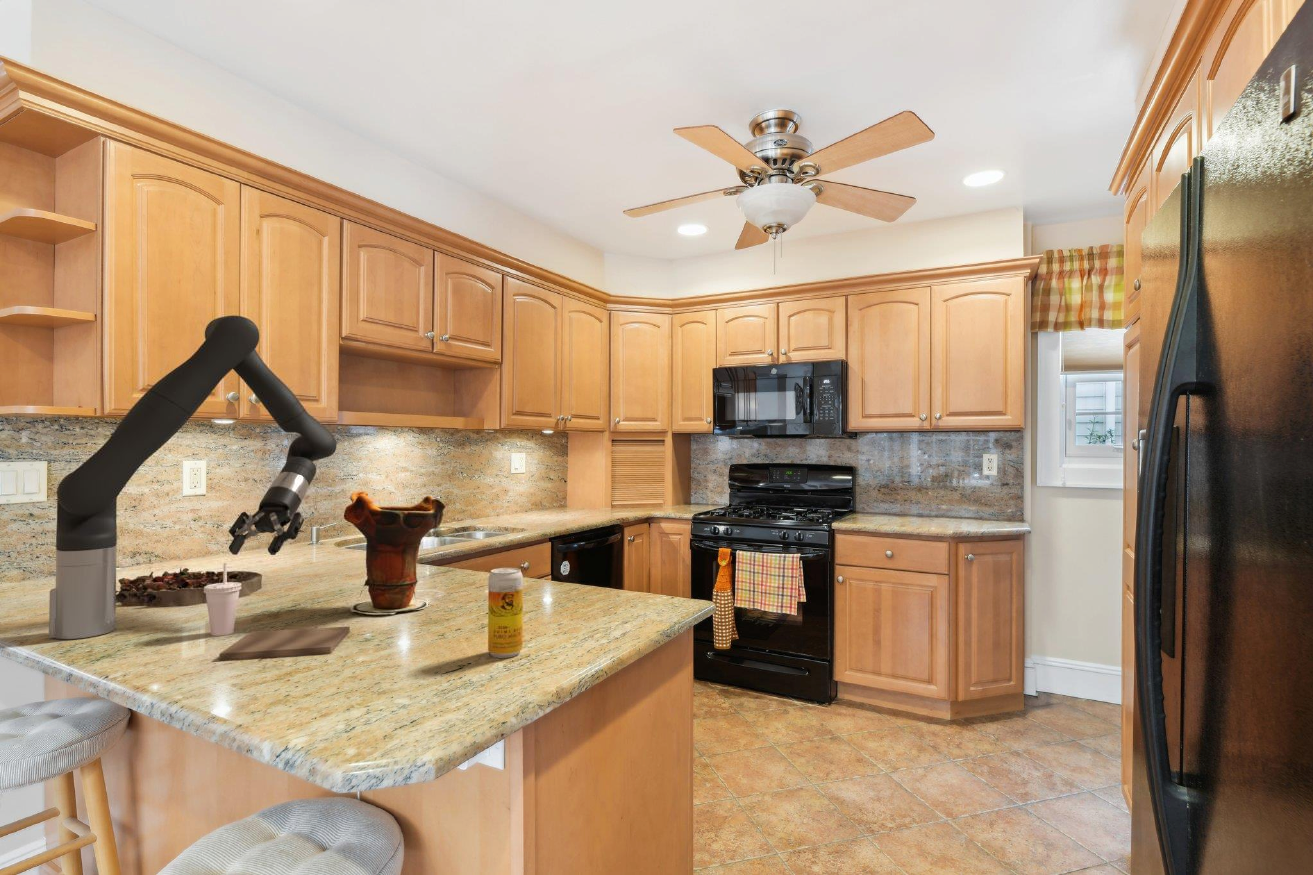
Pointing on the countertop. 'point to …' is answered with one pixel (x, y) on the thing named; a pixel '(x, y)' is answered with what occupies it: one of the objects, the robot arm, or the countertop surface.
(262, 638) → the walnut board
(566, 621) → the countertop surface
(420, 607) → the decorative vase
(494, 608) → the beer can
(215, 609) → the smoothie
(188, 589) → the food dish
